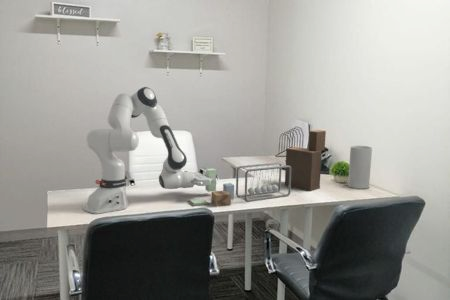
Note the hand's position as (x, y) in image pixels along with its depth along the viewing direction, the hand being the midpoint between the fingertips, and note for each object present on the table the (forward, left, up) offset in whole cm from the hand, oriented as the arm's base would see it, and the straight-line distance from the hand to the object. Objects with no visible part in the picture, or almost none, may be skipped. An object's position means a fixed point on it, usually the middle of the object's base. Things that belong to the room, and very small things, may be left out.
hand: (212, 177), depth 234 cm
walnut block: (-8, -15, -10) cm, 20 cm away
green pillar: (-1, 0, -7) cm, 7 cm away
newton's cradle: (+19, -22, -10) cm, 31 cm away
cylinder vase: (+81, -48, -10) cm, 94 cm away
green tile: (-16, -6, -10) cm, 20 cm away
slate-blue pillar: (+2, -11, -10) cm, 15 cm away
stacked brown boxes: (+55, -25, -10) cm, 61 cm away
